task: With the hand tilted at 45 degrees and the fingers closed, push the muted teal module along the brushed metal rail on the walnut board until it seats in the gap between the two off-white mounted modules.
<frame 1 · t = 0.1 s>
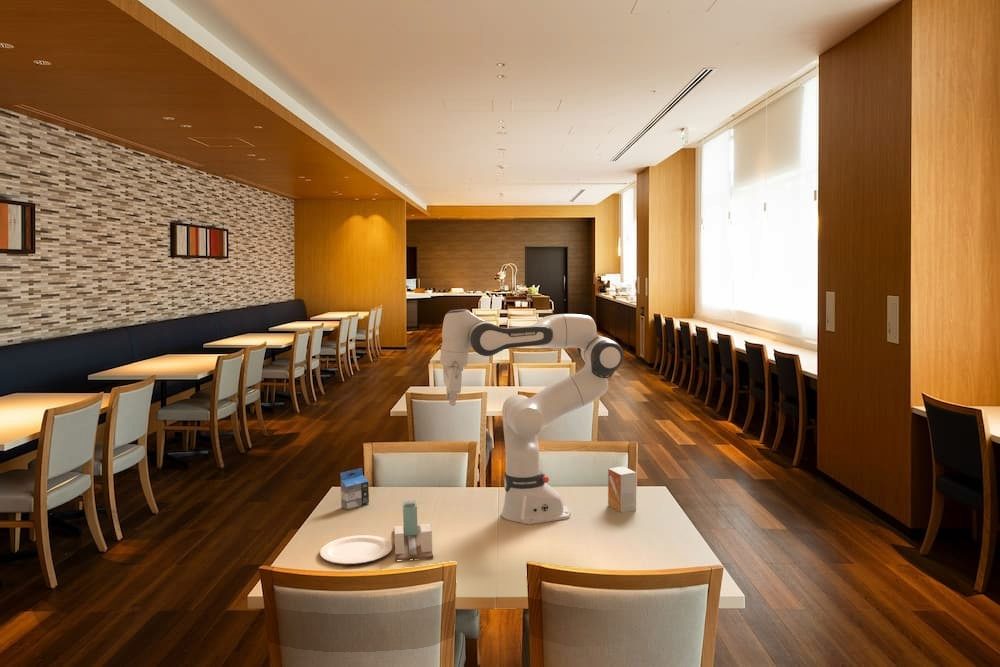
hand: (450, 402, 240), 39 cm above the table, tool pointing down, fingers open, 8 cm apart
label tape cartridge: (355, 506, 259), on the table
mounted modules: (412, 552, 219), resting on rail board
small box: (621, 508, 254), on the table
rail board: (412, 544, 225), on the table
plate: (356, 554, 219), on the table
teal module: (410, 516, 230), point 6 cm above the table, slide at 11.0 cm
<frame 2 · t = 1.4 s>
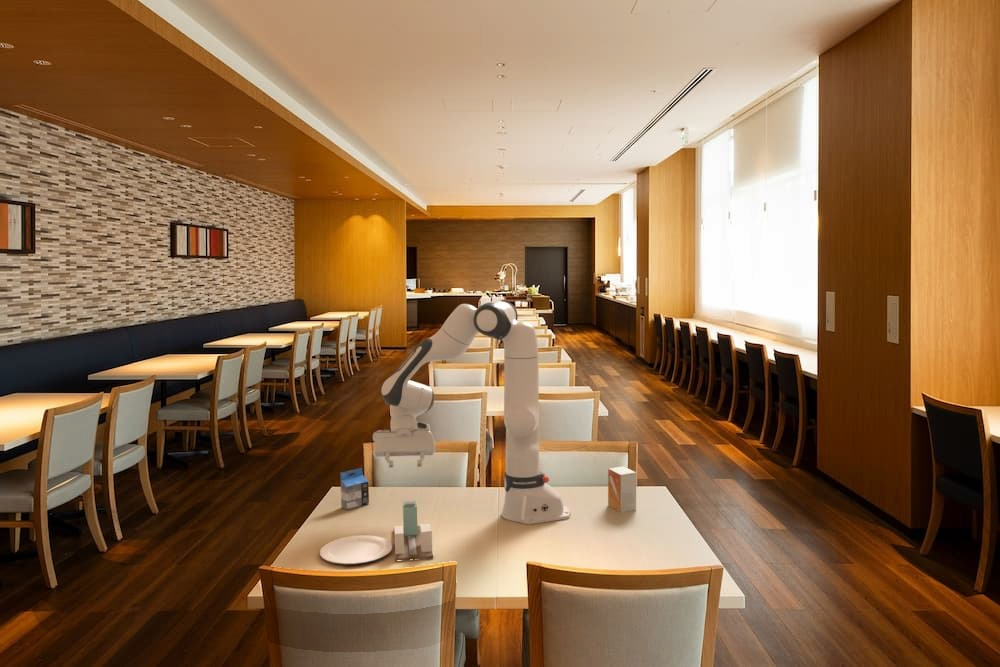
hand: (405, 466, 246), 17 cm above the table, tool tilted 45°, fingers open, 8 cm apart
nothing on the table moved.
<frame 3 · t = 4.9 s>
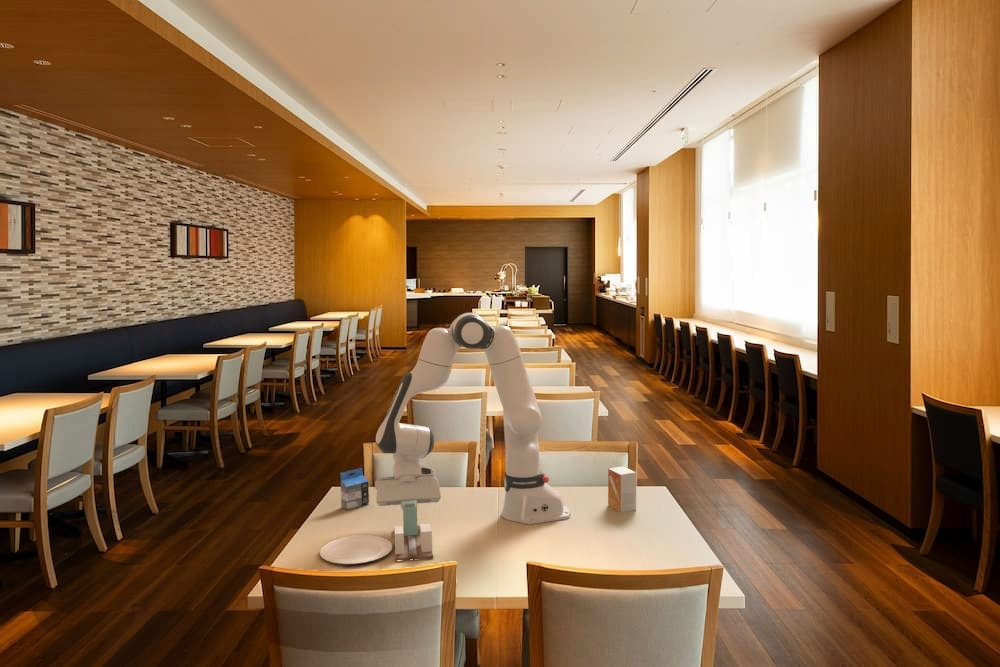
hand: (409, 515, 233), 5 cm above the table, tool tilted 45°, fingers closed, pressing on teal module
teal module: (410, 516, 230), point 6 cm above the table, slide at 11.0 cm, touching gripper
everything else where it was.
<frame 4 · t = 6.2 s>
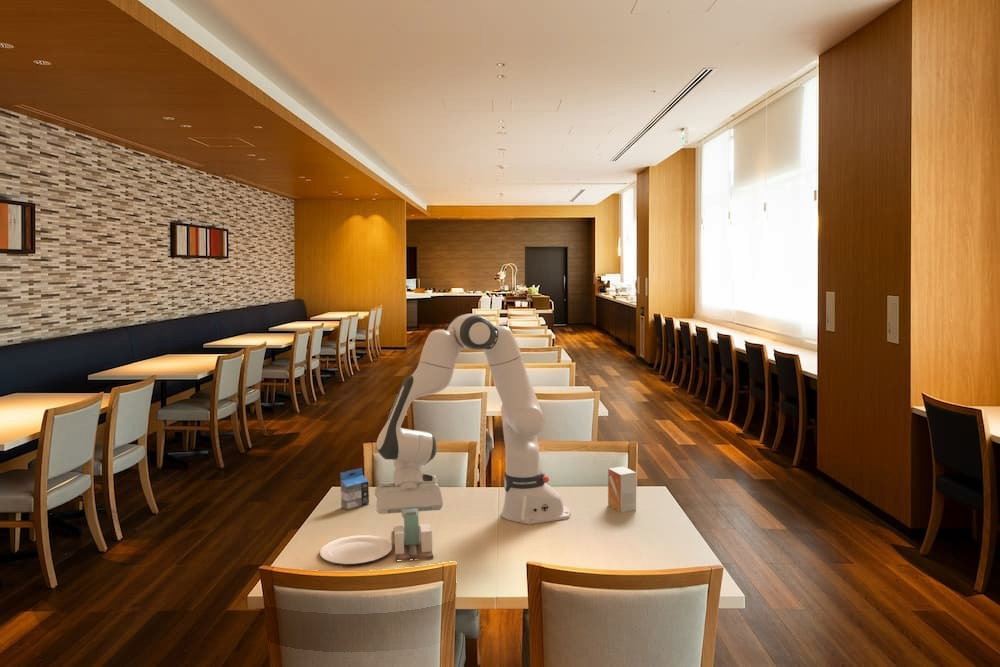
hand: (410, 524, 226), 5 cm above the table, tool tilted 45°, fingers closed, pressing on teal module
teal module: (411, 525, 222), point 6 cm above the table, slide at 3.6 cm, touching gripper
everything else where it was.
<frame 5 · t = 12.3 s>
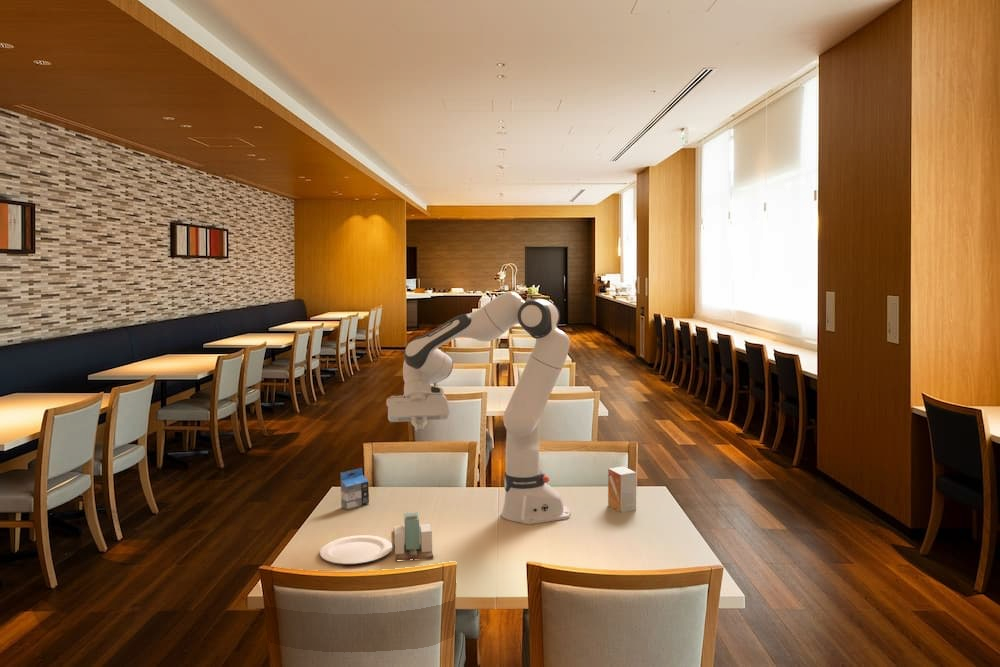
hand: (419, 430, 243), 29 cm above the table, tool tilted 45°, fingers closed
teal module: (411, 529, 219), point 6 cm above the table, slide at 0.0 cm
everything else where it was.
at the end: teal module slide at 0.0 cm; the gripper is holding nothing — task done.
